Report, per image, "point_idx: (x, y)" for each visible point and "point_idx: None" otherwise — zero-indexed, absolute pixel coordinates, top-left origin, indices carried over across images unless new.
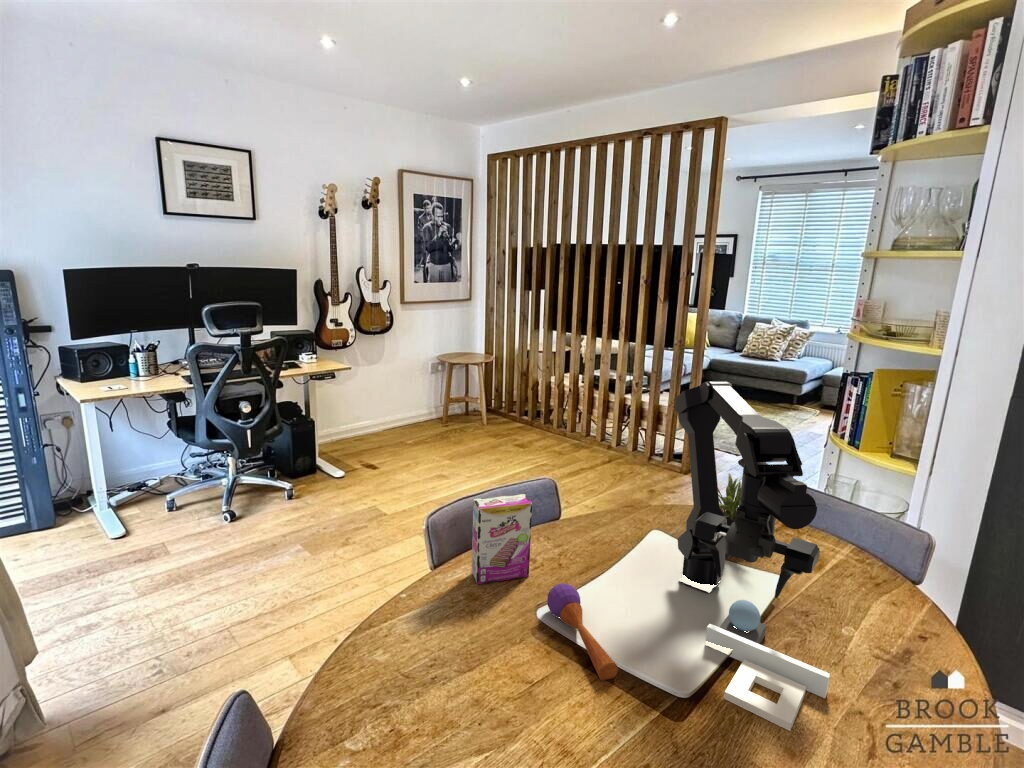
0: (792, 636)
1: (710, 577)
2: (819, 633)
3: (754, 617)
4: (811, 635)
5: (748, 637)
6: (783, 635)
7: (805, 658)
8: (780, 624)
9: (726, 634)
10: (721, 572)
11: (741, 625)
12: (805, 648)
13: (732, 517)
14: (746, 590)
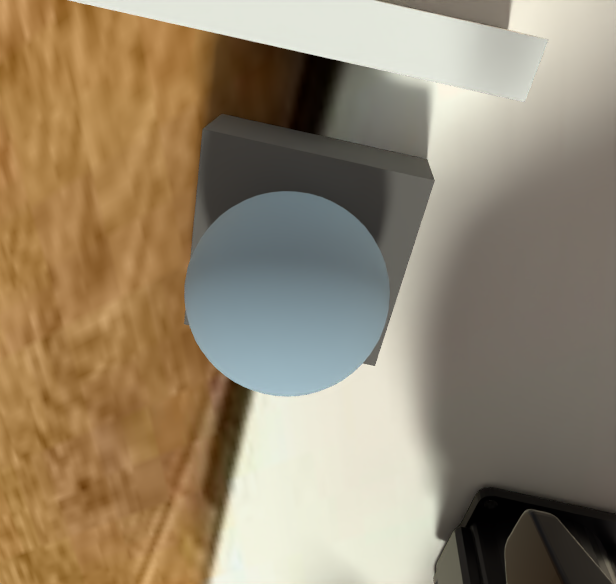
0: (95, 336)
1: (496, 573)
2: (11, 399)
3: (206, 252)
4: (32, 374)
5: (252, 155)
6: (129, 326)
7: (3, 198)
8: (158, 396)
9: (389, 12)
10: (540, 568)
11: (295, 193)
12: (25, 275)
13: None
14: (322, 553)
